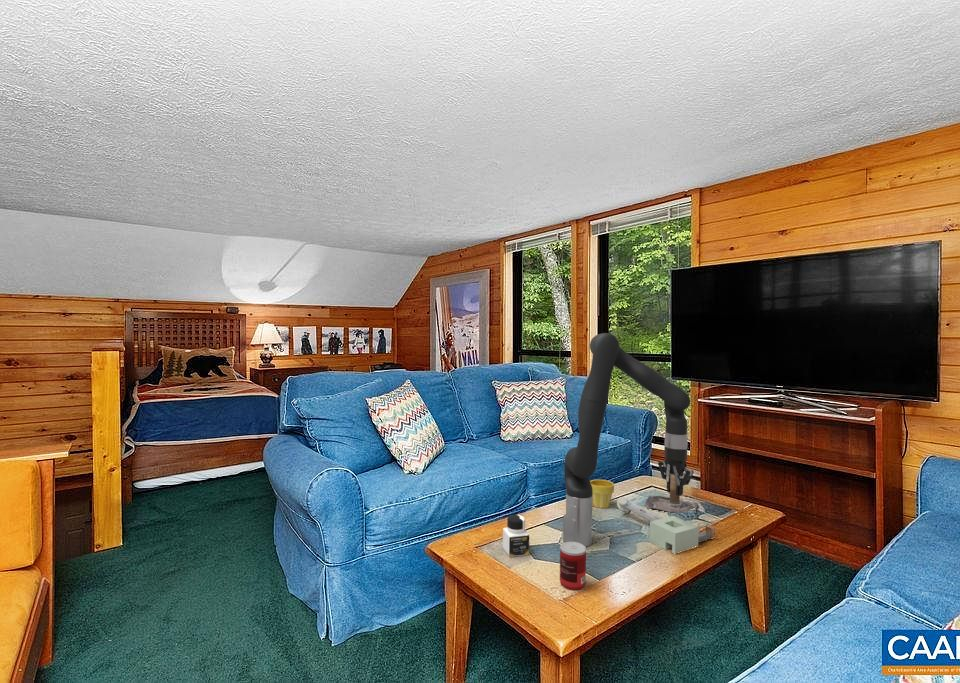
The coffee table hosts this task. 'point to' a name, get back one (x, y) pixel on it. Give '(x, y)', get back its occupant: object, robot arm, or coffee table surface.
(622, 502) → the white handheld tool
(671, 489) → the dowel
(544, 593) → the coffee table surface
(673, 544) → the dock
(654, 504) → the terrain model
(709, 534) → the pin
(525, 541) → the medicine bottle
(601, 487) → the plant pot
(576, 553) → the canned food
